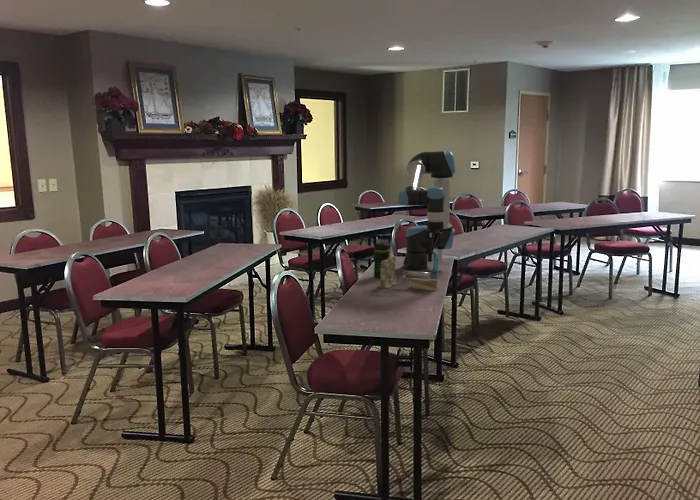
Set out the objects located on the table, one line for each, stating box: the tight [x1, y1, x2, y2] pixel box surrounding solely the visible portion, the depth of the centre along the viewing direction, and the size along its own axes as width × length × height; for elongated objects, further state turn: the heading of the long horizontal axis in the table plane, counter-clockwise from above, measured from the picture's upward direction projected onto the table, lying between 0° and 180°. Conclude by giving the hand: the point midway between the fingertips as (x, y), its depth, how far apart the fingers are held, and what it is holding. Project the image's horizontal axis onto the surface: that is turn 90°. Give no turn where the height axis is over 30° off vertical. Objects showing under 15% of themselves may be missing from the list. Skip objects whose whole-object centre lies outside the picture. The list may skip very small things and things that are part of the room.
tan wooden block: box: [376, 256, 400, 290], centre depth 286 cm, size 14×6×13 cm, turn 153°
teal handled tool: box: [402, 251, 440, 280], centre depth 278 cm, size 3×18×13 cm, turn 63°
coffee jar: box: [373, 241, 391, 279], centre depth 304 cm, size 10×8×19 cm
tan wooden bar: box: [409, 277, 439, 292], centre depth 279 cm, size 3×13×4 cm, turn 63°
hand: (435, 265), depth 275 cm, fingers open, 13 cm apart
